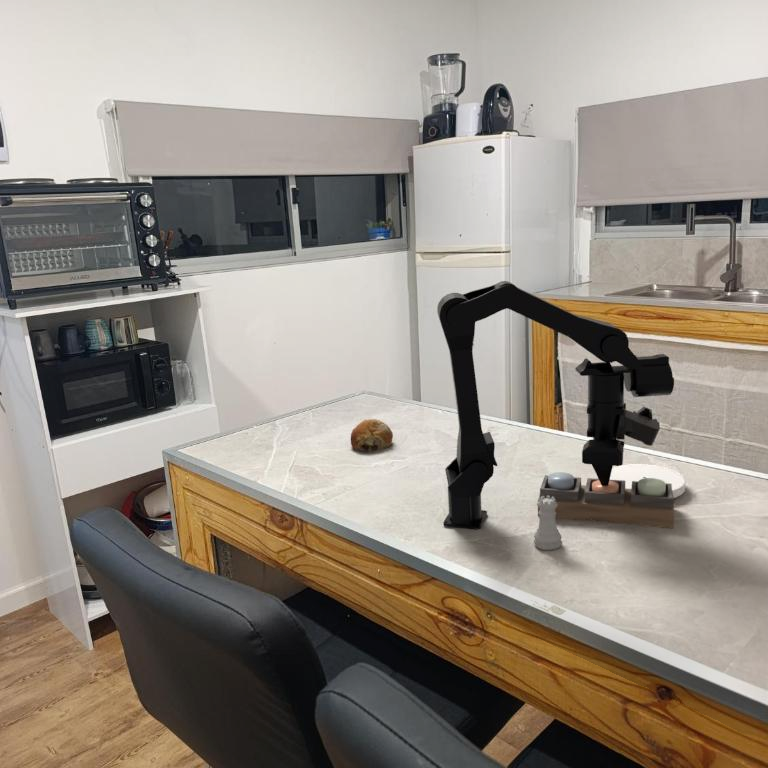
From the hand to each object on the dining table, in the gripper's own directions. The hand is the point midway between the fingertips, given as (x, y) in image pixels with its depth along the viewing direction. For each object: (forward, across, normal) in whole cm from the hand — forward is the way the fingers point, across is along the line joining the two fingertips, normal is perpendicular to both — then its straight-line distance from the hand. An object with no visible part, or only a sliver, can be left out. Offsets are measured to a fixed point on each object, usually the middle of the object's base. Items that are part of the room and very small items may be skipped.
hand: (604, 485), depth 122 cm
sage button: (+1, 0, -8) cm, 8 cm away
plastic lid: (+6, +12, -6) cm, 14 cm away
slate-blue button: (+1, 0, +7) cm, 7 cm away
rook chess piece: (+5, -14, +8) cm, 17 cm away
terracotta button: (+2, 0, 0) cm, 2 cm away
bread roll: (+6, +26, +54) cm, 60 cm away
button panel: (+5, 0, 0) cm, 5 cm away
